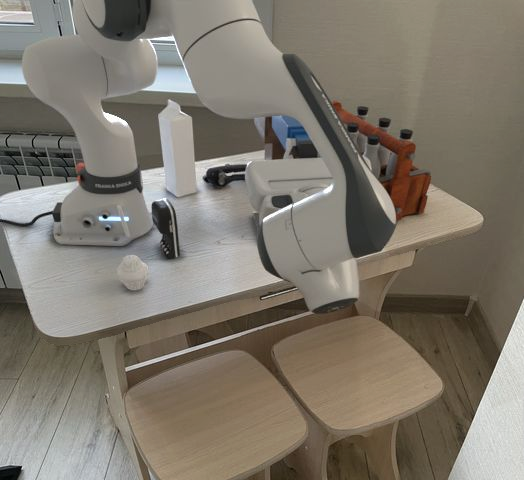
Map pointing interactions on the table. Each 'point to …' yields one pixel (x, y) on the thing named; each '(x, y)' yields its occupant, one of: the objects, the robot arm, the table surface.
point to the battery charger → (166, 227)
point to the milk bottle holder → (389, 160)
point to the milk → (177, 150)
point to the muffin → (132, 272)
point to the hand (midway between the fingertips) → (301, 140)
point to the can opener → (219, 177)
